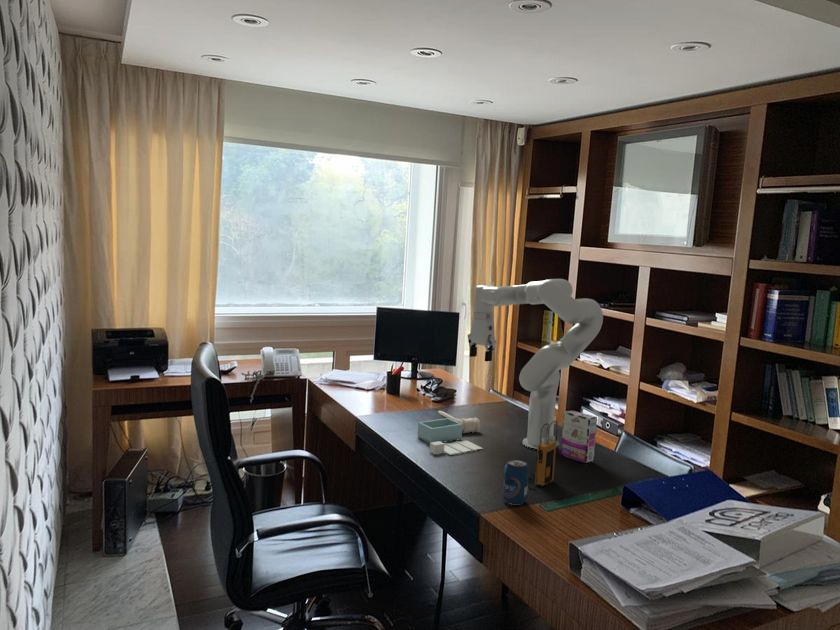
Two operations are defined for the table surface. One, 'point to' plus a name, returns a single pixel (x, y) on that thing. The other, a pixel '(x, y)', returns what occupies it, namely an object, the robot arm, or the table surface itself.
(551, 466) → the multimeter
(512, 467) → the soda can
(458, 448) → the lid
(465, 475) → the table surface
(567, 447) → the candy bar box
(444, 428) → the tub
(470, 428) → the gavel
